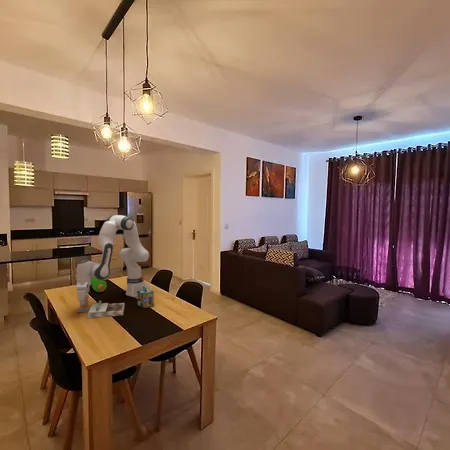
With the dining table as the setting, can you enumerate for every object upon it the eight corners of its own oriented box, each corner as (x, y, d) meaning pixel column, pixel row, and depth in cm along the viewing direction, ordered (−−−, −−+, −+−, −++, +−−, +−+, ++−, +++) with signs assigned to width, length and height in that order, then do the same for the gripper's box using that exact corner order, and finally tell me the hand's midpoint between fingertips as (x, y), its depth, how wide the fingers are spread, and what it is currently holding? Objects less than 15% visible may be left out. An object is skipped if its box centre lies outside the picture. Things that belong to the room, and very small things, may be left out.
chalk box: (154, 305, 202) (154, 287, 200) (142, 309, 195) (142, 289, 194) (148, 302, 208) (148, 284, 207) (137, 305, 202) (137, 286, 201)
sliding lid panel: (108, 303, 193) (108, 299, 193) (105, 312, 179) (105, 307, 179) (92, 305, 190) (92, 300, 190) (88, 313, 176) (88, 309, 176)
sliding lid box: (124, 307, 197) (124, 302, 197) (123, 315, 183) (122, 311, 182) (92, 310, 190) (91, 305, 190) (87, 319, 176) (87, 314, 176)
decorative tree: (98, 280, 220) (89, 271, 243) (93, 293, 218) (84, 283, 241) (111, 283, 227) (102, 274, 250) (106, 296, 226) (97, 285, 248)
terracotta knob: (89, 303, 193) (89, 294, 192) (87, 306, 187) (87, 297, 186) (80, 304, 191) (80, 295, 190) (78, 307, 185) (78, 297, 185)
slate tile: (90, 308, 194) (90, 307, 194) (88, 312, 187) (88, 311, 187) (80, 309, 192) (80, 308, 192) (77, 312, 185) (77, 312, 185)
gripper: (82, 279, 197) (82, 297, 198) (75, 287, 177) (75, 307, 178) (91, 278, 198) (91, 296, 200) (86, 287, 179) (86, 307, 180)
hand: (84, 302), depth 189 cm, fingers closed on terracotta knob, 5 cm apart
